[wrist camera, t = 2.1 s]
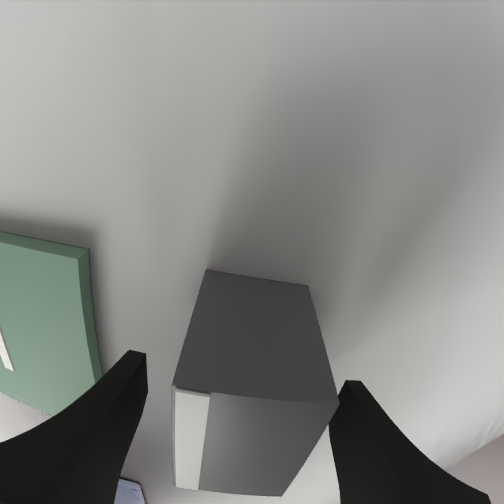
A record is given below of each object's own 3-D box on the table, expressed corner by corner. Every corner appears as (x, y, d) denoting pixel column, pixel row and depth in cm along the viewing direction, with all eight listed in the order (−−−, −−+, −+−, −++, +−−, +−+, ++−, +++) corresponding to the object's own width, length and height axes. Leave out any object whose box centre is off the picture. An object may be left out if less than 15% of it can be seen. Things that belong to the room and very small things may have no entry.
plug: (275, 389, 15) (281, 498, 9) (194, 378, 15) (173, 487, 9) (307, 285, 12) (340, 406, 7) (205, 269, 12) (171, 387, 7)
